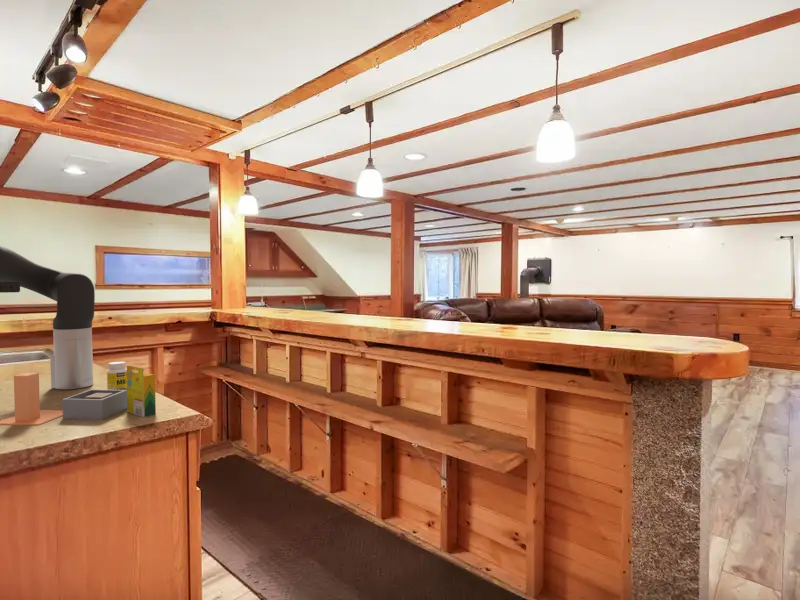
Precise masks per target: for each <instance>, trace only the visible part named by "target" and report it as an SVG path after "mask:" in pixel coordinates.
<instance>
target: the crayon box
mask: <svg viewBox="0 0 800 600" xmlns="http://www.w3.org/2000/svg"><path fill="white" fill-rule="evenodd" d="M126 369H127V374H126V375H127V409H126V410H127V413H130V414H131V415H132V414H133V415H136V416H140V417H142V418H145V417H149V416H154V415H156V413H157V412H156V374H153V373H146V372H144V368H143V367H137V366H132V365H126ZM133 370H136V371H133Z"/></svg>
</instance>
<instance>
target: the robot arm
mask: <svg viewBox="0 0 800 600" xmlns="http://www.w3.org/2000/svg"><path fill="white" fill-rule="evenodd" d="M21 288H24V289H27V290H29V291H32V292H34V293H37V294H39V295H42V296H44V297H46V298H49V299H50V300H53V301H55V302H56V314H55V317H54V318H53V320H52V335H53V354H51V355H50V356H49V359H50V362H49V363H50V365H49V366H50V388H51V389H55V390H76V389H83V388H88V387H90V386H92V385H93V384H94V367H93V366H94V362H93V361H94V360H93V359H94V358H93V320H94V317H95V304H96V303H95V299H96V298H95V297H96V296H95V295H96V291H95V286H94V283H93V281H92V279H90V278H89V277H88V276H87V275H85V274H82V273H80V272H79V273H78V272H64V271H60V270H56V269H52V268H50V267H46V266H43V265H40V264H37V263H35V262H34V261H31V260H30V259H28V258H25V256H22V255H21V254H19V253H17V252H16V251H14V250H11V249H10V248H7V247H5V246H3V245H1V244H0V293H1V294H2V293H19V292H21Z"/></svg>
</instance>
